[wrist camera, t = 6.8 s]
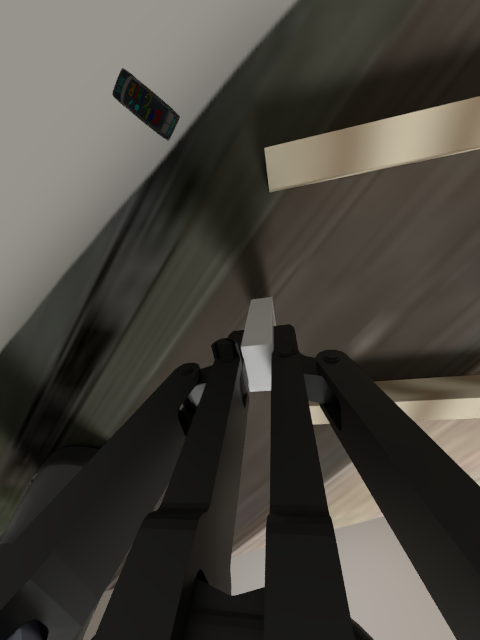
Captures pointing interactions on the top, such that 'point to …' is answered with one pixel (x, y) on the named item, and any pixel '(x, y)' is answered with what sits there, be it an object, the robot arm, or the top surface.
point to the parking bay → (374, 154)
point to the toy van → (145, 104)
